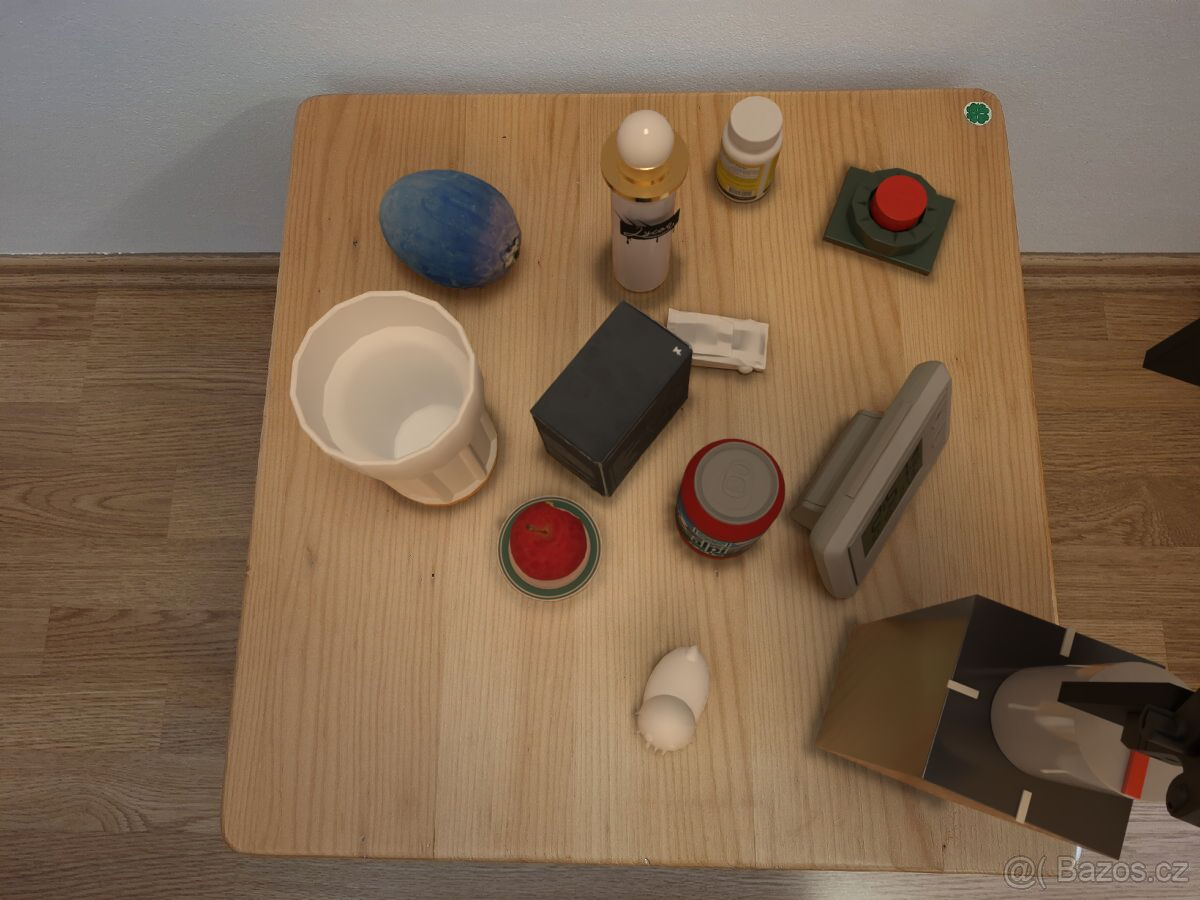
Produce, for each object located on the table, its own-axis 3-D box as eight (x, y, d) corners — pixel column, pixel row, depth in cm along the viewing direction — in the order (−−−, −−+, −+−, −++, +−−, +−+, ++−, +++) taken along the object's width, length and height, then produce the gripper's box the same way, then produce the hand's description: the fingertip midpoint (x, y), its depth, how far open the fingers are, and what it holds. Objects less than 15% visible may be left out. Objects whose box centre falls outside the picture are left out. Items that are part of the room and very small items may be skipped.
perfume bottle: (598, 247, 74) (589, 92, 55) (666, 232, 74) (680, 72, 55) (614, 309, 73) (610, 173, 53) (683, 294, 73) (704, 152, 53)
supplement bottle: (753, 145, 76) (768, 81, 68) (782, 188, 75) (801, 128, 67) (704, 169, 76) (714, 107, 68) (732, 213, 74) (745, 155, 66)
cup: (525, 394, 71) (494, 303, 54) (496, 532, 68) (453, 482, 51) (388, 371, 72) (315, 275, 55) (353, 507, 69) (265, 449, 52)
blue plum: (528, 261, 63) (349, 182, 65) (520, 347, 70) (359, 272, 72) (584, 198, 68) (416, 127, 71) (571, 283, 75) (419, 216, 77)
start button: (926, 196, 72) (933, 184, 70) (911, 238, 71) (918, 227, 69) (878, 180, 73) (884, 168, 71) (863, 221, 72) (869, 210, 70)
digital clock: (833, 612, 66) (872, 599, 56) (744, 526, 68) (765, 498, 57) (976, 463, 68) (1038, 424, 58) (886, 384, 70) (931, 332, 60)
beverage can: (661, 543, 68) (668, 513, 56) (690, 462, 69) (702, 417, 58) (747, 573, 67) (771, 550, 55) (773, 490, 68) (803, 450, 57)
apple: (489, 508, 69) (476, 490, 62) (591, 488, 69) (588, 468, 63) (507, 611, 67) (494, 603, 60) (612, 590, 67) (610, 580, 60)
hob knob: (1006, 649, 42) (1096, 641, 34) (1113, 690, 41) (1231, 691, 33) (977, 754, 41) (1063, 771, 32) (1086, 797, 40) (1202, 826, 32)
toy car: (668, 314, 72) (669, 302, 70) (767, 323, 72) (771, 312, 70) (662, 368, 71) (663, 358, 69) (763, 378, 71) (767, 368, 69)
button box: (952, 204, 74) (963, 188, 72) (928, 276, 73) (938, 262, 70) (848, 170, 75) (856, 152, 73) (822, 240, 74) (829, 225, 71)
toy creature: (622, 738, 64) (621, 744, 58) (663, 634, 66) (667, 629, 60) (681, 765, 63) (687, 773, 57) (721, 658, 65) (731, 656, 59)
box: (624, 350, 72) (623, 294, 62) (689, 397, 70) (700, 349, 60) (540, 450, 70) (526, 411, 60) (607, 501, 69) (603, 469, 58)
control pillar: (974, 672, 64) (1171, 665, 41) (937, 798, 62) (1123, 865, 39) (852, 624, 66) (976, 590, 42) (812, 746, 64) (919, 781, 40)
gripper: (1746, -364, 16) (1116, 218, 37) (1591, 1102, 11) (951, 822, 31) (2213, -258, 15) (1302, 277, 36) (2308, 1391, 10) (1166, 907, 30)
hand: (1138, 530), depth 34 cm, fingers open, 13 cm apart
